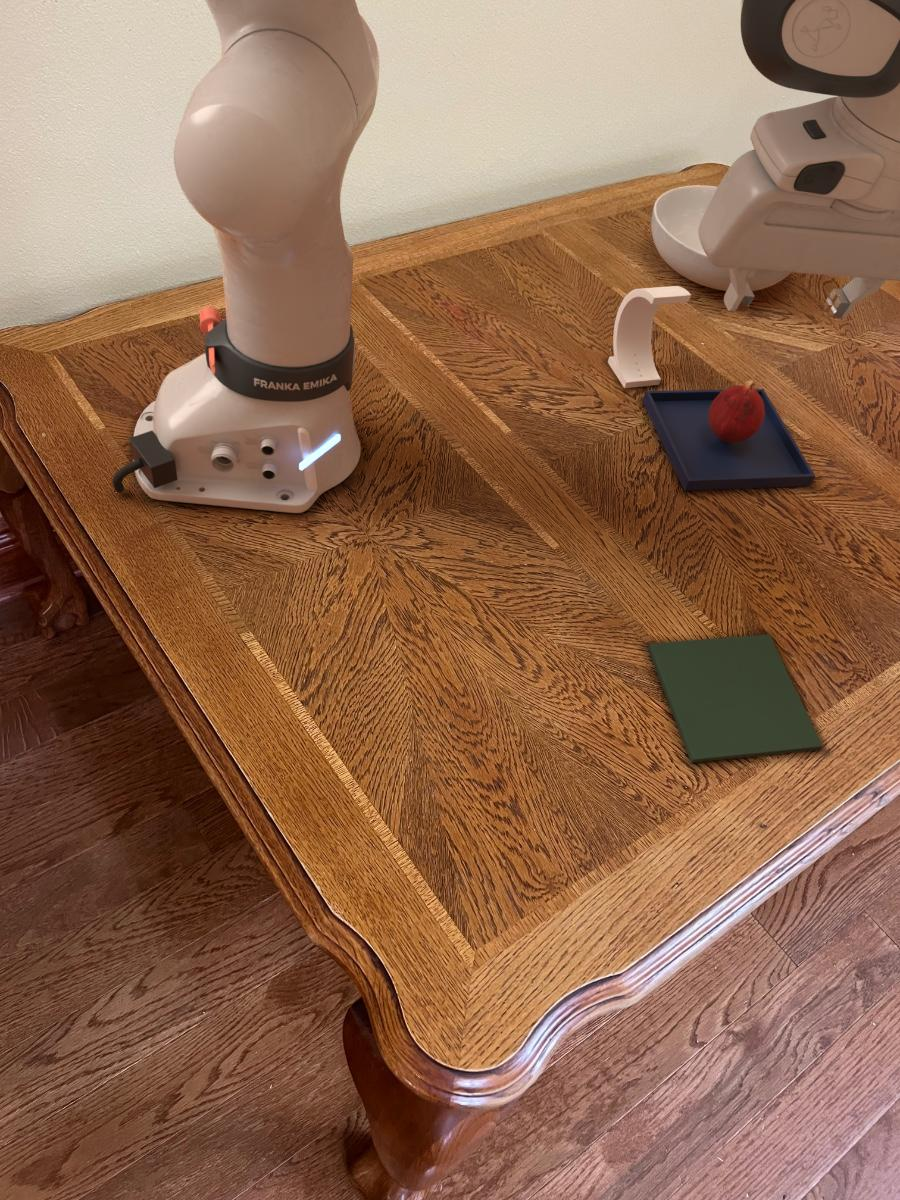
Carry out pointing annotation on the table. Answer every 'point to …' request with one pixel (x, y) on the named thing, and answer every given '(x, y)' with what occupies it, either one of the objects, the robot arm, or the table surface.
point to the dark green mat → (732, 698)
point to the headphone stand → (639, 334)
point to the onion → (737, 413)
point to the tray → (724, 445)
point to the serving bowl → (694, 239)
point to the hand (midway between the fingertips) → (784, 310)
